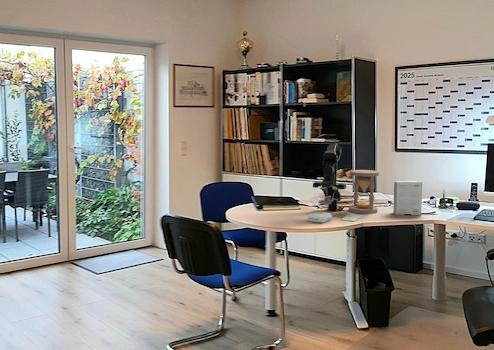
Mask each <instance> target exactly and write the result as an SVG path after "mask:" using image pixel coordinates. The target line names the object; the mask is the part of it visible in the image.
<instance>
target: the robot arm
mask: <svg viewBox="0 0 494 350" xmlns="http://www.w3.org/2000/svg"><path fill="white" fill-rule="evenodd" d="M341 155H342V147H341V146H340V144H338V143H337V142H329V143H328V146H327V149H326V151H325V152H324V153H323V154H322V165H324V167H323V168H322V173H323V174H324V176H323V179H322V181H314V182H313V183H312V188H319V189H320V190H322V192H323V195H324V198H325V197H328V196H331V200H332V199H333V202H331V204H327V209H326V210H325V211H331V212H338V211H339V209H340V208H338V202H341V200H342V199H341V198H342V197H341V196H342V195H341V193H340V191H339V190H345V189H347V185H346V183H342V182H339V183H337V179H338V162H339V160H340V159H341Z"/></svg>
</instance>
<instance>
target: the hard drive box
mask: <svg viewBox="0 0 494 350" xmlns="http://www.w3.org/2000/svg"><path fill="white" fill-rule="evenodd" d="M422 197H423V182H421V181H419V180H394V181H393V214H394V215H395V216H396V215H397V216H398V215H399V216H401V215H402V216H404V214H411V215H410V216H421V215H422V205H423V204H422V200H423V198H422Z"/></svg>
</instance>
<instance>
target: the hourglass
mask: <svg viewBox="0 0 494 350" xmlns="http://www.w3.org/2000/svg"><path fill="white" fill-rule="evenodd" d="M349 175H350V176H354V182H353V186H354V187H353V188H354V192H353V205H350V206H349V207H348V211H349V212H352V213H355V214H364V215H365V214H368V215H369V214H376V213H378V211H379V209H378V207H377V206H374V202H375V195H374V190H375V177H377V176H379V175H380V171H378V170H373V169H372V170H370V169H353V170H350V171H349ZM359 177H364V178H359ZM365 177H367V178H365ZM368 177H370V178H368ZM359 186H360V189H361V190H362V193H366V190H367V188H369V196H368V199H369V200H368V201H365V200H362V201H359ZM358 201H359V202H358Z"/></svg>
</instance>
